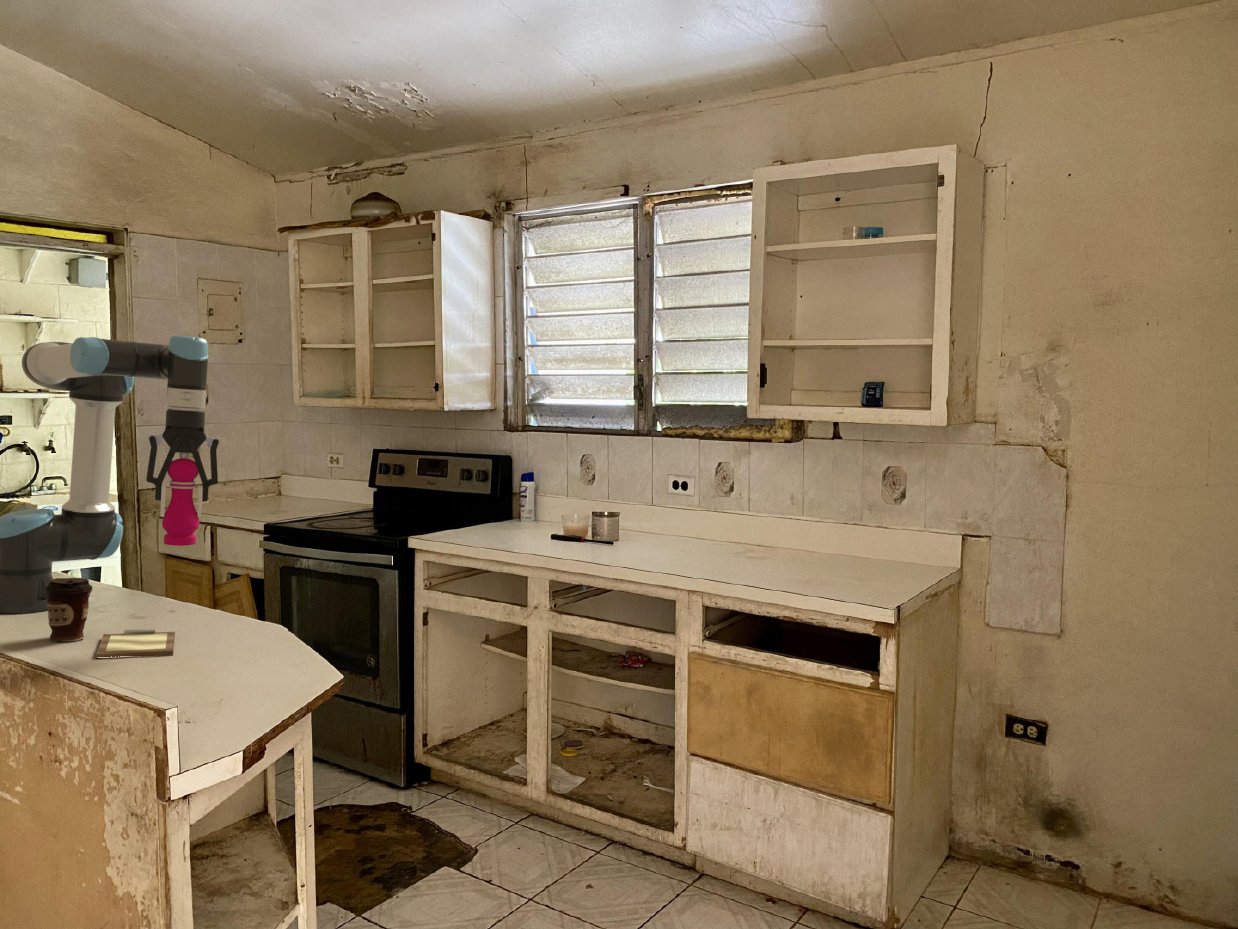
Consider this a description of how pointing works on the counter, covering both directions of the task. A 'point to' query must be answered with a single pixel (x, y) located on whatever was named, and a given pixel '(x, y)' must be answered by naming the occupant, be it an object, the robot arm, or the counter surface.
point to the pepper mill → (181, 503)
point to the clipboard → (137, 643)
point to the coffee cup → (68, 607)
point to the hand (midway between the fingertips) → (180, 515)
